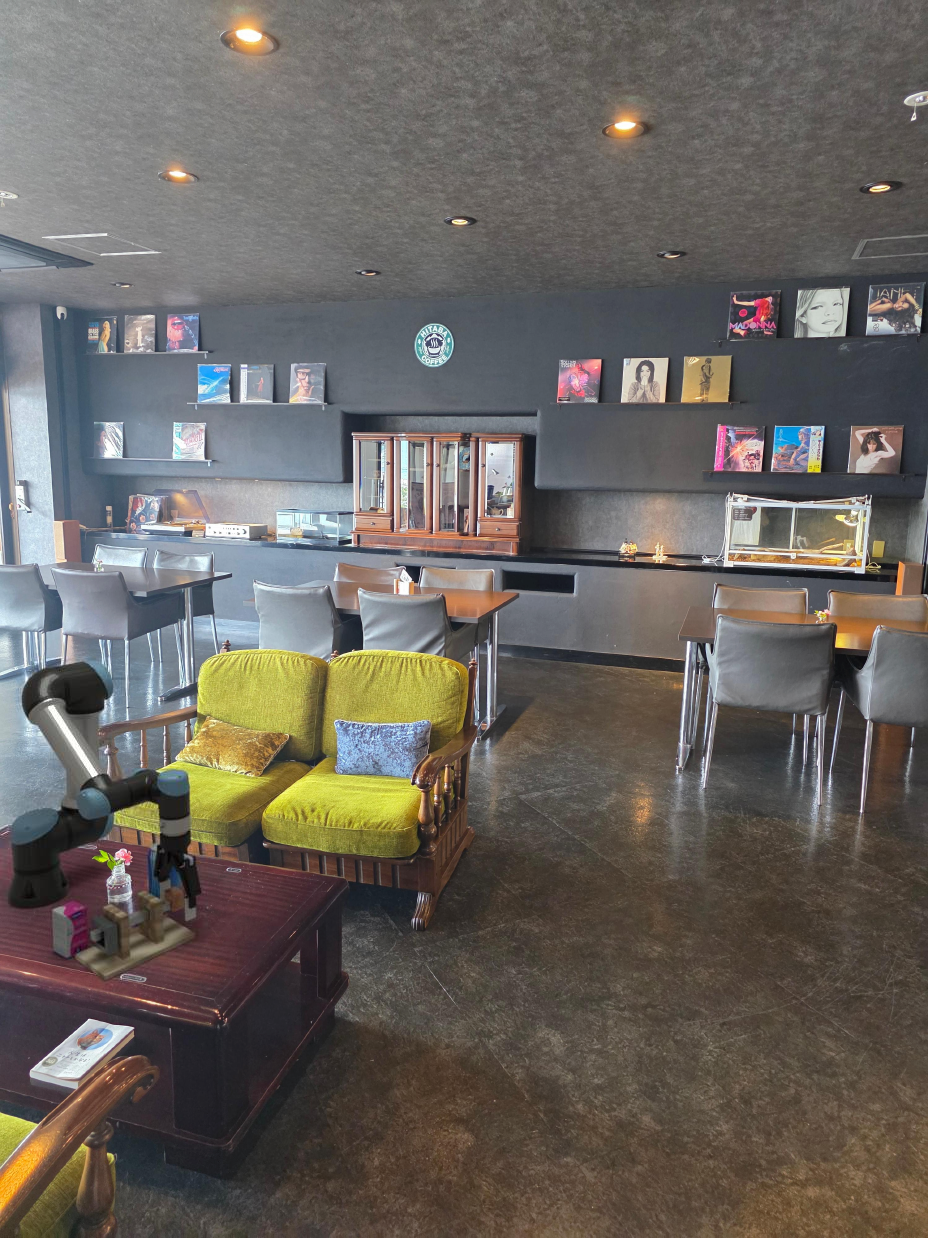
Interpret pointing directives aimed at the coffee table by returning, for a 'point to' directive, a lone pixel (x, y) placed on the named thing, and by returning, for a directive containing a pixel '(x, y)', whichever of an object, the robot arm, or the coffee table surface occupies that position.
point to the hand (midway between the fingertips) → (178, 911)
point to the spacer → (106, 935)
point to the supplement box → (69, 929)
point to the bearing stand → (136, 939)
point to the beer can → (153, 881)
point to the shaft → (171, 902)
